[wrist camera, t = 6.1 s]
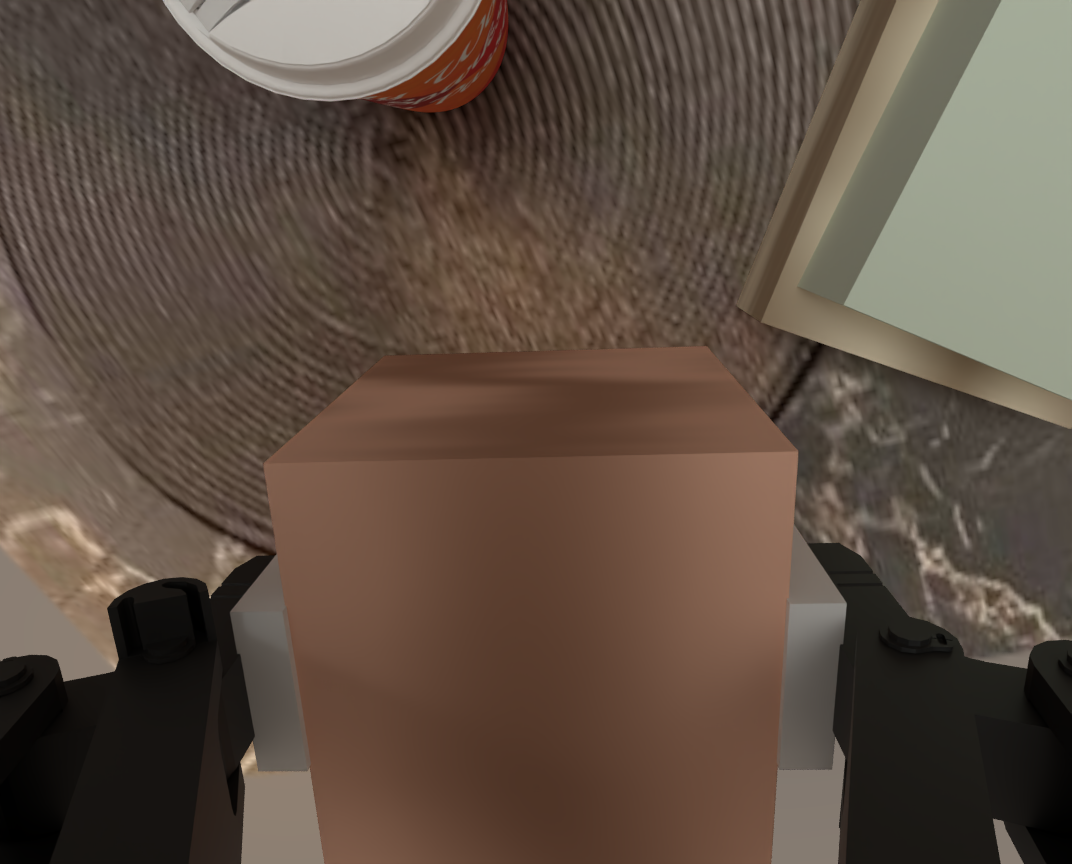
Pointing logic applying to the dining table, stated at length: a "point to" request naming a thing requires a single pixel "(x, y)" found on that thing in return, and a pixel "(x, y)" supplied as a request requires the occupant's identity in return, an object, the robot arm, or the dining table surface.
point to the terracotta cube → (539, 608)
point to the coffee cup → (355, 47)
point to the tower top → (969, 194)
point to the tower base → (812, 196)
